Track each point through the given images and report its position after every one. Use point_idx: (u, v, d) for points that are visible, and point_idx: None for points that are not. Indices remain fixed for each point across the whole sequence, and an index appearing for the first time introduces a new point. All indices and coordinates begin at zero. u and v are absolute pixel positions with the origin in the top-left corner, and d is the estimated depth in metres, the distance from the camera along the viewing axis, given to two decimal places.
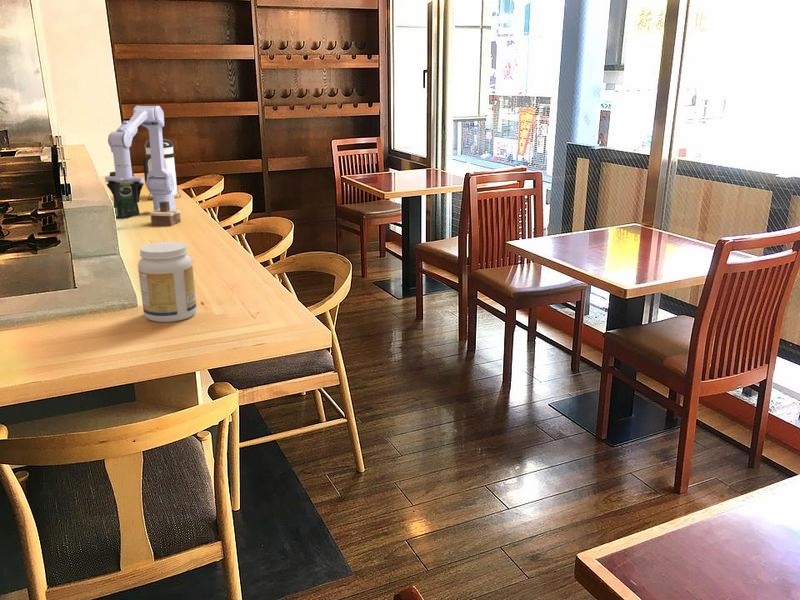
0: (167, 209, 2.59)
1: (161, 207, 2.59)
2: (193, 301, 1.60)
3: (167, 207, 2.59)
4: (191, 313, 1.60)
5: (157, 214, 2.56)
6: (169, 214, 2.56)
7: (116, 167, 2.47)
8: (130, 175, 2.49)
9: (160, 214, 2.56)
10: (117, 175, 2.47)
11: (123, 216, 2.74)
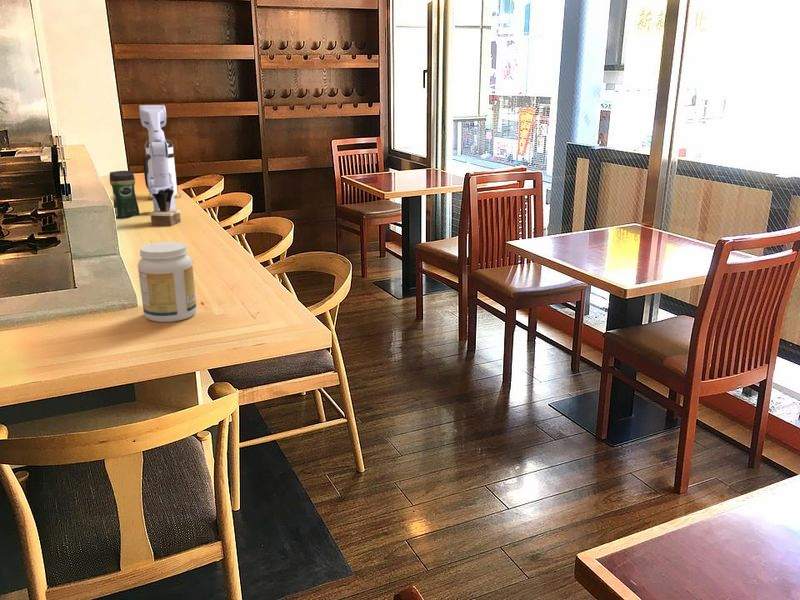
0: (167, 209, 2.59)
1: None
2: (193, 301, 1.60)
3: (167, 207, 2.59)
4: (191, 313, 1.60)
5: (157, 214, 2.56)
6: (169, 214, 2.56)
7: None
8: (157, 184, 2.54)
9: (160, 214, 2.56)
10: None
11: (123, 216, 2.74)
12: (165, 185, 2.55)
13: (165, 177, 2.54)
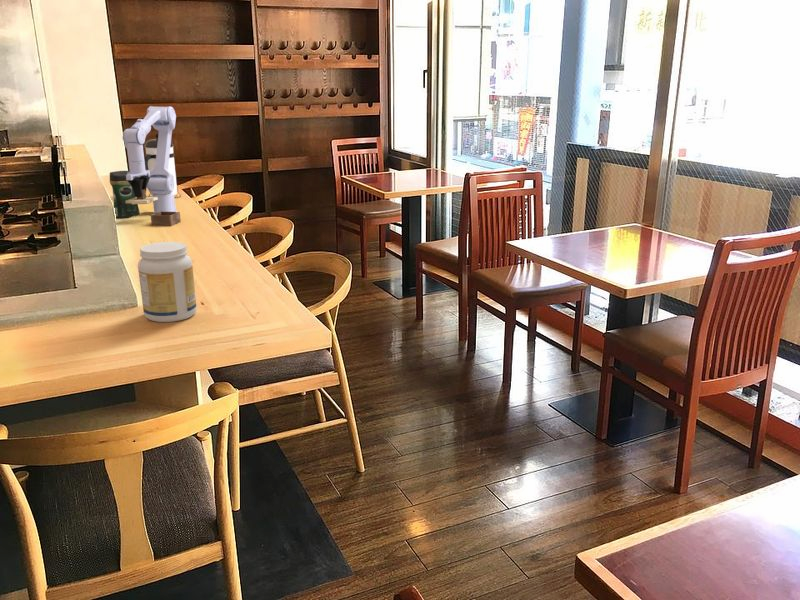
0: (143, 197, 2.62)
1: None
2: (193, 301, 1.60)
3: (143, 195, 2.62)
4: (191, 313, 1.60)
5: (133, 202, 2.59)
6: (145, 201, 2.59)
7: None
8: (133, 171, 2.57)
9: (136, 201, 2.59)
10: None
11: (123, 216, 2.74)
12: (140, 172, 2.58)
13: (140, 164, 2.57)
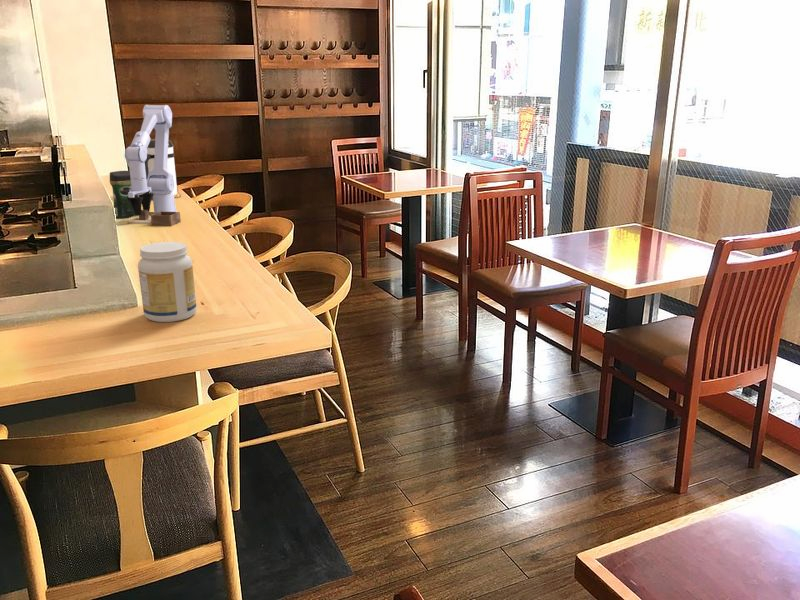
0: (146, 217, 2.65)
1: (140, 215, 2.64)
2: (193, 301, 1.60)
3: (146, 215, 2.65)
4: (191, 313, 1.60)
5: (136, 222, 2.62)
6: (148, 222, 2.61)
7: None
8: (135, 188, 2.59)
9: (139, 222, 2.62)
10: None
11: (123, 216, 2.74)
12: (142, 189, 2.60)
13: (142, 181, 2.59)
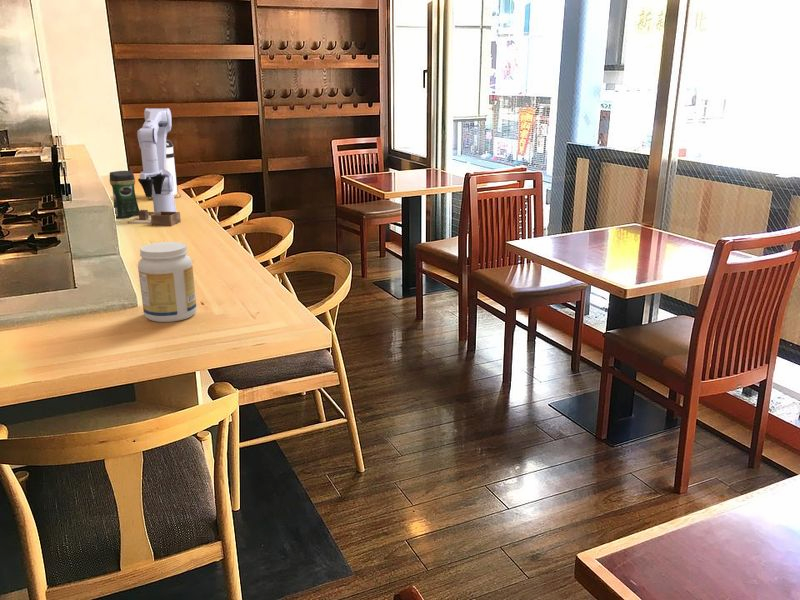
0: (146, 217, 2.65)
1: (140, 215, 2.64)
2: (193, 301, 1.60)
3: (146, 215, 2.65)
4: (191, 313, 1.60)
5: (136, 222, 2.62)
6: (147, 222, 2.61)
7: None
8: (146, 170, 2.59)
9: (139, 222, 2.62)
10: None
11: (123, 216, 2.74)
12: (154, 171, 2.60)
13: (154, 163, 2.59)
